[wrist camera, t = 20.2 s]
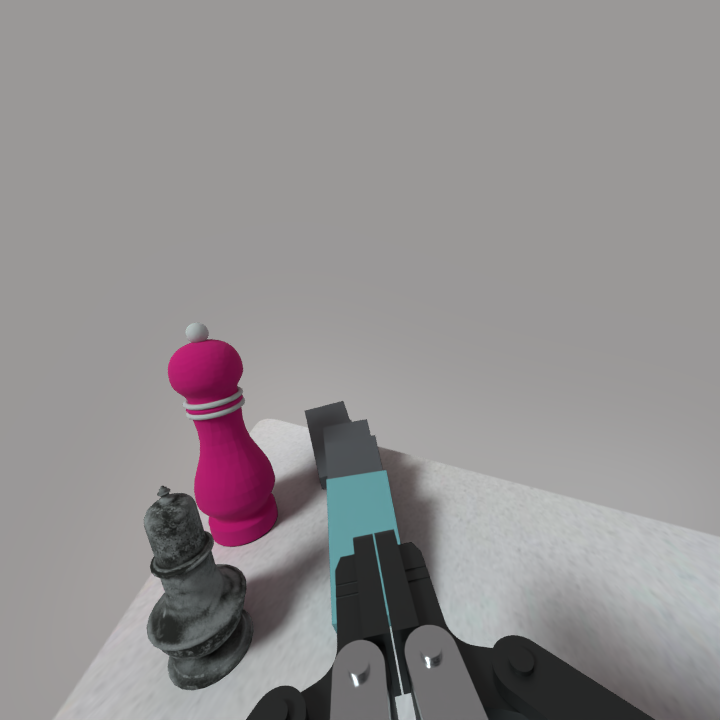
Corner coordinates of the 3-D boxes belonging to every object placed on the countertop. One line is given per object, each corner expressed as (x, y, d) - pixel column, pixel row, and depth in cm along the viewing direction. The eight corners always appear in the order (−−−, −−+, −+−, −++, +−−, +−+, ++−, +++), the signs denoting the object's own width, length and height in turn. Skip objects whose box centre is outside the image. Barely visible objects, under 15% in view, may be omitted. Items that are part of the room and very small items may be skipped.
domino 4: (413, 610, 22) (386, 470, 30) (332, 624, 22) (326, 479, 29) (413, 622, 23) (387, 484, 31) (337, 634, 23) (330, 493, 31)
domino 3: (396, 537, 28) (375, 435, 35) (332, 548, 27) (324, 443, 35) (397, 549, 29) (376, 448, 37) (336, 560, 29) (327, 456, 36)
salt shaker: (259, 593, 27) (221, 451, 24) (255, 675, 21) (205, 502, 18) (177, 618, 26) (126, 472, 23) (149, 711, 20) (78, 534, 17)
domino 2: (386, 501, 32) (366, 419, 40) (331, 512, 32) (322, 427, 40) (387, 513, 34) (368, 431, 41) (334, 523, 33) (325, 439, 41)
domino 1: (365, 464, 38) (343, 400, 46) (319, 478, 37) (304, 410, 45) (366, 476, 39) (344, 412, 47) (322, 489, 39) (307, 422, 46)
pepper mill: (210, 513, 37) (157, 326, 32) (279, 492, 39) (239, 312, 34) (203, 563, 31) (135, 336, 26) (287, 534, 33) (238, 319, 28)
